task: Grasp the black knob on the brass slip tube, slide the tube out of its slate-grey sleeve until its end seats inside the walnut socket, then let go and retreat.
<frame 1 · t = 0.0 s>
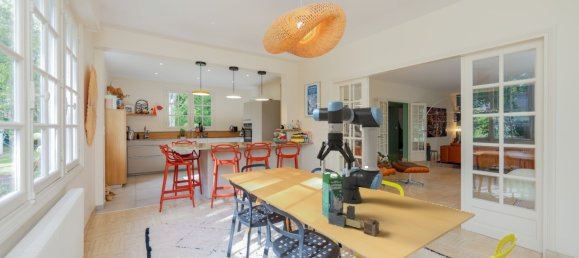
hand: (335, 174, 120), 28 cm above the table, fingers open, 13 cm apart
milk carton: (332, 216, 138), on the table
sleeve: (338, 223, 128), on the table
slip tube: (345, 214, 125), point 6 cm above the table, slide at 0.0 cm
socket: (372, 232, 117), on the table
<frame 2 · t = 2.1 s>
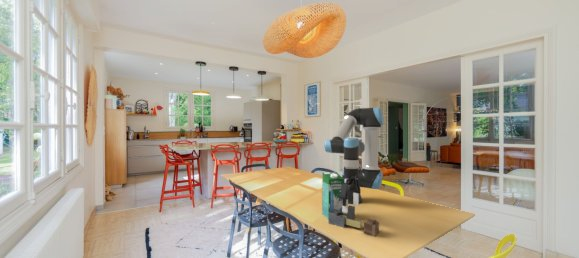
hand: (350, 208, 123), 10 cm above the table, fingers open, 13 cm apart
nothing on the table moved.
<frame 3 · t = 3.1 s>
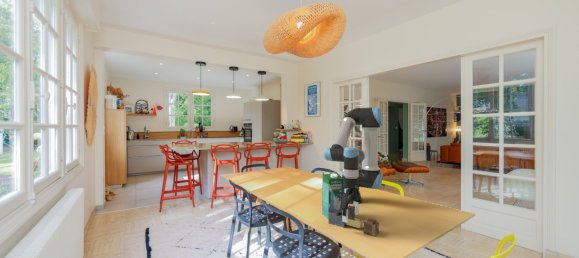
hand: (350, 217, 124), 5 cm above the table, fingers open, 13 cm apart
nothing on the table moved.
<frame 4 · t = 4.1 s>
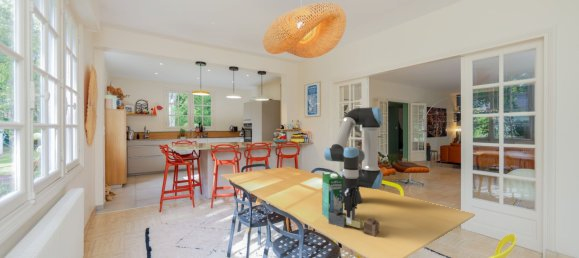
hand: (350, 221, 124), 3 cm above the table, fingers closed on slip tube, 3 cm apart
slip tube: (345, 214, 125), point 6 cm above the table, slide at 0.0 cm, touching gripper
everything else where it was.
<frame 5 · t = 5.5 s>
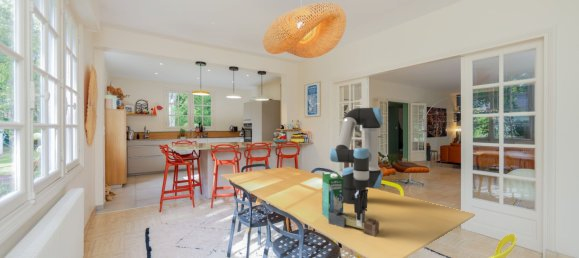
hand: (360, 224, 120), 3 cm above the table, fingers closed on slip tube, 3 cm apart
slip tube: (355, 216, 122), point 6 cm above the table, slide at 5.4 cm, touching gripper
everything else where it was.
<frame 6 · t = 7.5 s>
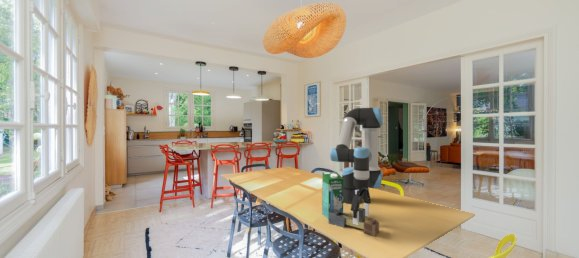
hand: (361, 219, 120), 5 cm above the table, fingers open, 13 cm apart
slip tube: (355, 216, 122), point 6 cm above the table, slide at 5.5 cm
everything else where it was.
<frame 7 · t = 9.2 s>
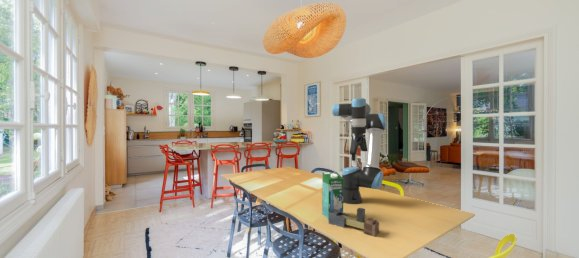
hand: (358, 164, 133), 31 cm above the table, fingers open, 13 cm apart
nothing on the table moved.
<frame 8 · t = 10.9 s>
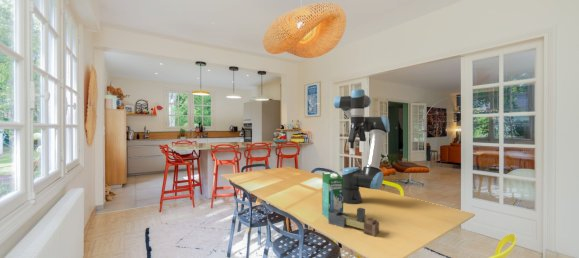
hand: (357, 153, 138), 37 cm above the table, fingers open, 13 cm apart
nothing on the table moved.
at the end: slip tube slide at 5.5 cm; the gripper is holding nothing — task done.
